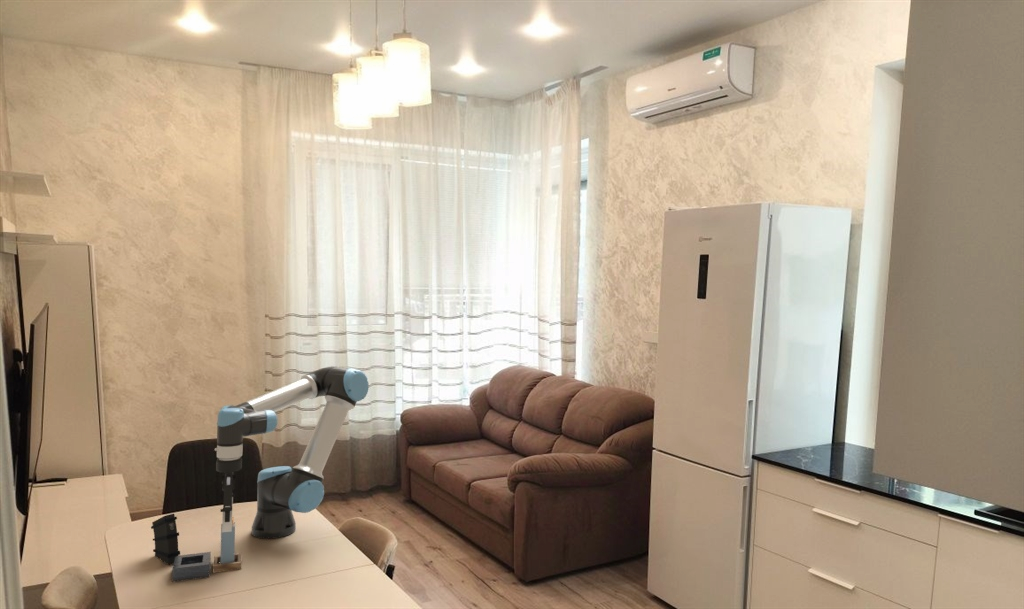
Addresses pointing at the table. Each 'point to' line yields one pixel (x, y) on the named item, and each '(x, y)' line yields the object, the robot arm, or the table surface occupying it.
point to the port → (191, 566)
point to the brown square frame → (227, 565)
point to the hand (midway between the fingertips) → (227, 524)
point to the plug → (228, 545)
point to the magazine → (166, 538)
